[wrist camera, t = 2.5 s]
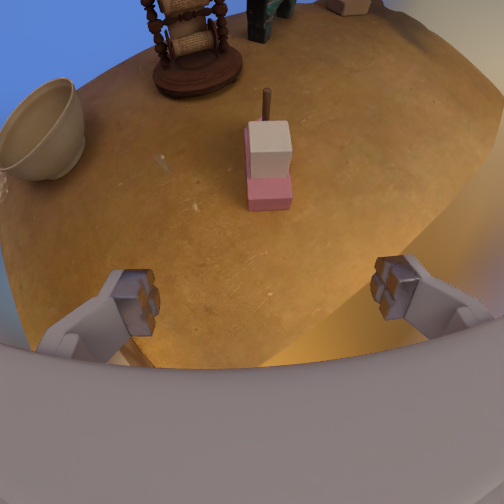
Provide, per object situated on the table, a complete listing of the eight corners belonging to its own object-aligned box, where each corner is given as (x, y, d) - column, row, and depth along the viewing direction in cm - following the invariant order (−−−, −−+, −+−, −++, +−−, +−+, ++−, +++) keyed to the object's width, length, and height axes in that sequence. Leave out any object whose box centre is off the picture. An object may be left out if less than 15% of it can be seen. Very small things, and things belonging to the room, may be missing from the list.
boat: (289, 209, 32) (305, 157, 21) (248, 211, 32) (246, 159, 21) (279, 130, 35) (286, 70, 24) (244, 131, 35) (241, 70, 24)
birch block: (161, 375, 27) (145, 384, 22) (118, 409, 26) (98, 421, 21) (119, 320, 29) (97, 319, 24) (80, 357, 27) (57, 361, 23)
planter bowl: (33, 145, 36) (2, 114, 25) (101, 104, 37) (77, 62, 27) (28, 216, 32) (-16, 189, 22) (106, 171, 34) (68, 127, 23)
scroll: (228, 45, 41) (221, -42, 21) (255, 88, 37) (255, -24, 18) (152, 67, 39) (124, -18, 20) (162, 114, 36) (122, 6, 17)
